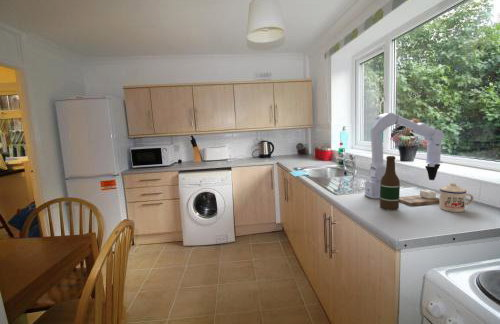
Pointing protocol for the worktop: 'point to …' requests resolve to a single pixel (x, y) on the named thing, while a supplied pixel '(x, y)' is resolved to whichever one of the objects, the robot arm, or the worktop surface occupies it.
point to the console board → (418, 200)
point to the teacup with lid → (453, 198)
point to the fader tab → (428, 194)
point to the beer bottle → (390, 187)
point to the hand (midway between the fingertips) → (432, 178)
